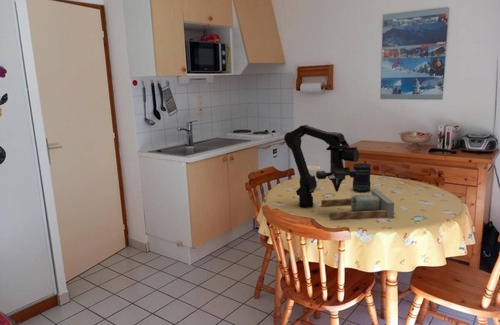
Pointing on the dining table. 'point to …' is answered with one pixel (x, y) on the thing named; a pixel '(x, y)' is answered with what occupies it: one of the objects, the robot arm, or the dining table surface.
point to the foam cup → (314, 172)
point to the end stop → (385, 203)
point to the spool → (365, 203)
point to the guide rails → (351, 214)
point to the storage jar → (362, 178)
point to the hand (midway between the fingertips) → (336, 191)
